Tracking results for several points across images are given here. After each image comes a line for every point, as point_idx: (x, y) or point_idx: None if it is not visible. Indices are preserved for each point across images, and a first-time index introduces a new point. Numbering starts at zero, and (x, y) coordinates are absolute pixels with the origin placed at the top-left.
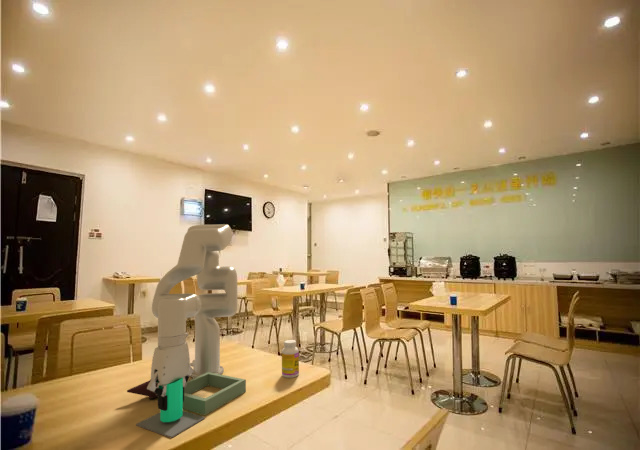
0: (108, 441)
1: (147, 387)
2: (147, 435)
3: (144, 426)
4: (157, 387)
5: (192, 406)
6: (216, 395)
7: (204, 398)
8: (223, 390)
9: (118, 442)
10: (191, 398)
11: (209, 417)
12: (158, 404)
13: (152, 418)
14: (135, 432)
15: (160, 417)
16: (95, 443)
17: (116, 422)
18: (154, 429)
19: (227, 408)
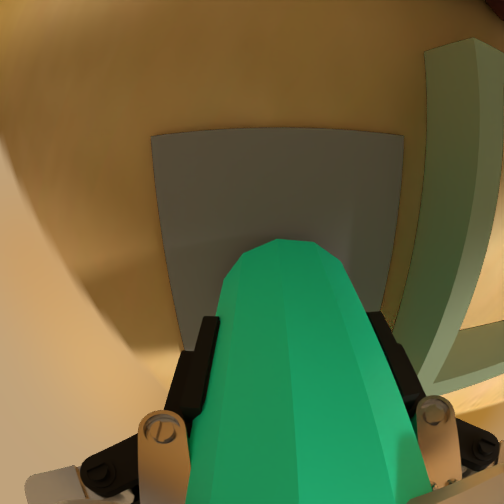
0: (32, 179)
1: (28, 490)
2: (142, 288)
3: (162, 212)
4: (141, 481)
5: (415, 304)
6: (460, 387)
7: (430, 382)
8: (497, 371)
9: (51, 226)
10: (436, 323)
11: None
12: (180, 365)
13: (244, 162)
14: (118, 209)
15: (220, 293)
16: (8, 149)
17: (125, 6)
18: (178, 289)
19: None
